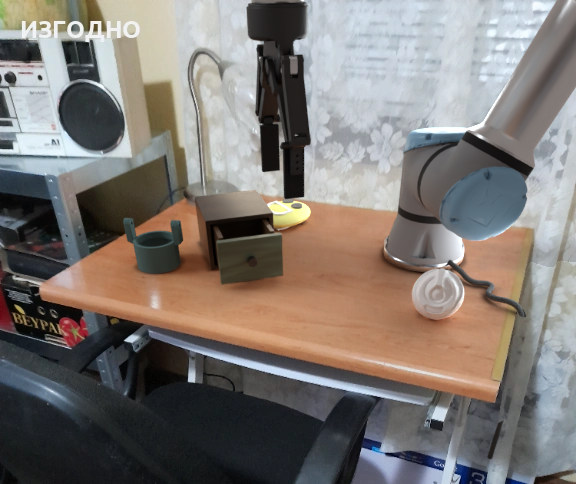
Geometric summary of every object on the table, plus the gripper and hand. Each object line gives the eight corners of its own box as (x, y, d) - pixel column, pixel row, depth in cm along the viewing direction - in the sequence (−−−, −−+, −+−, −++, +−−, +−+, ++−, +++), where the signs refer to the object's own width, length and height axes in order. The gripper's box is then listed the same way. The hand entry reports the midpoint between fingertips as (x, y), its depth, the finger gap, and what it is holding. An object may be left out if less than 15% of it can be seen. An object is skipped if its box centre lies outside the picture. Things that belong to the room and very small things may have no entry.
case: (274, 261, 103) (273, 212, 97) (211, 270, 100) (205, 221, 94) (258, 234, 113) (256, 189, 107) (200, 242, 110) (194, 196, 105)
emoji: (273, 221, 110) (320, 205, 114) (246, 205, 118) (291, 190, 122) (275, 239, 112) (321, 222, 117) (248, 222, 120) (292, 207, 125)
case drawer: (284, 278, 95) (284, 237, 90) (222, 288, 93) (218, 246, 88) (266, 248, 105) (264, 210, 101) (209, 256, 103) (205, 217, 98)
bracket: (189, 266, 102) (183, 221, 96) (143, 278, 98) (134, 231, 93) (172, 250, 108) (166, 206, 102) (129, 260, 104) (119, 216, 99)
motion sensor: (405, 323, 84) (411, 279, 79) (412, 300, 90) (419, 258, 85) (457, 331, 82) (466, 287, 77) (461, 307, 88) (470, 265, 83)
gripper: (227, -3, 72) (239, 162, 85) (272, 6, 53) (278, 215, 67) (280, -5, 73) (284, 158, 87) (341, 3, 55) (334, 208, 68)
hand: (281, 183), depth 77 cm, fingers open, 12 cm apart
